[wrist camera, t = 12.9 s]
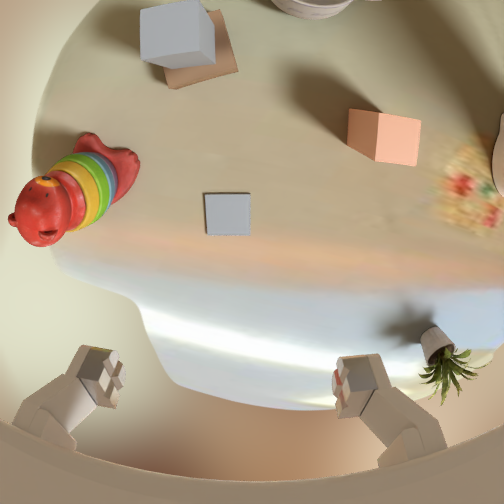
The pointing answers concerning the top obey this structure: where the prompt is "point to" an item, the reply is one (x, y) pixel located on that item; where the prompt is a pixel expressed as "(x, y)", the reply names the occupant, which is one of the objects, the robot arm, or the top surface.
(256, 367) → the top surface
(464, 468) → the robot arm
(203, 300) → the top surface
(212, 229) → the slate swatch
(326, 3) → the teacup
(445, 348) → the house plant
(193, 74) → the walnut block
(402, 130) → the terracotta pillar
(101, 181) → the stacking bear
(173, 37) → the slate pillar
